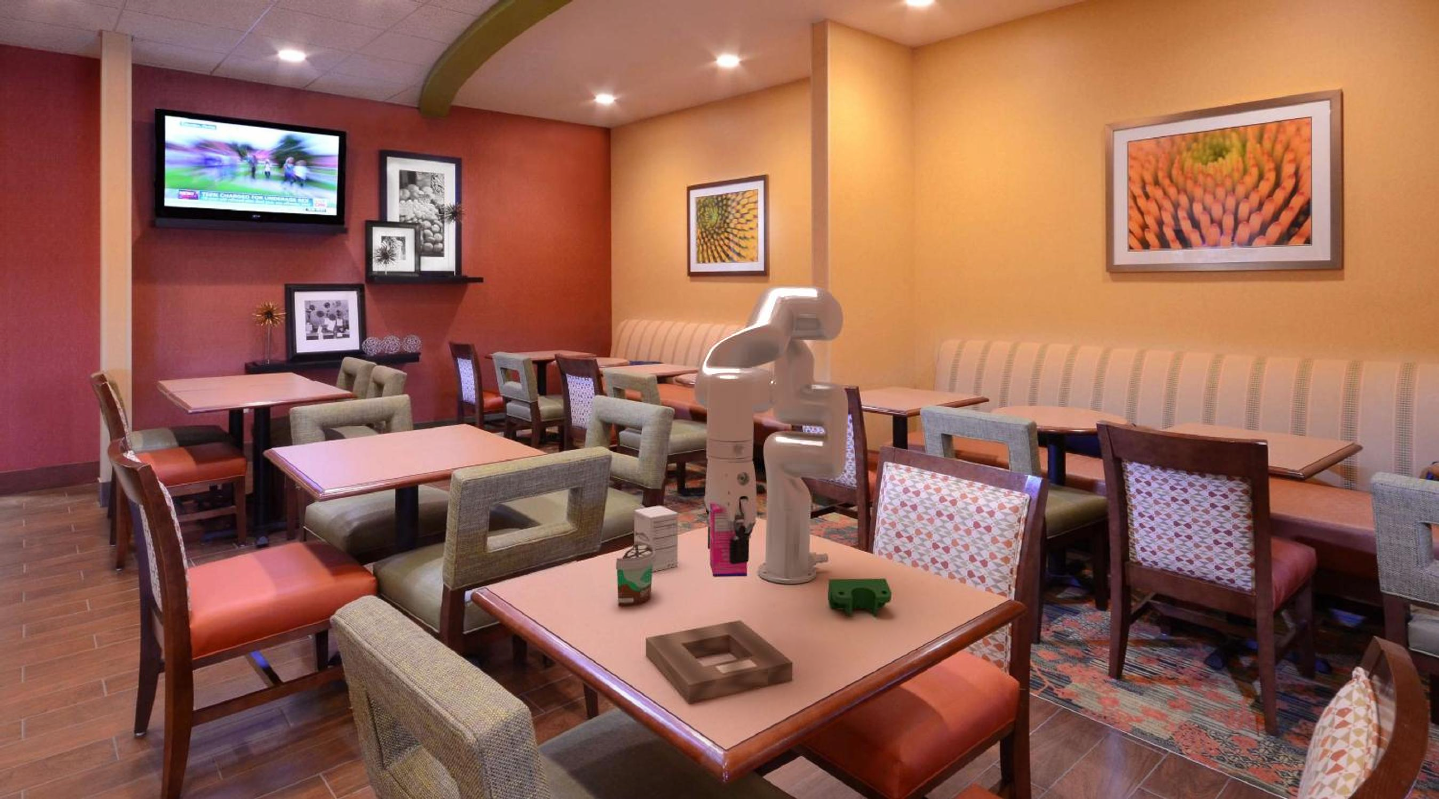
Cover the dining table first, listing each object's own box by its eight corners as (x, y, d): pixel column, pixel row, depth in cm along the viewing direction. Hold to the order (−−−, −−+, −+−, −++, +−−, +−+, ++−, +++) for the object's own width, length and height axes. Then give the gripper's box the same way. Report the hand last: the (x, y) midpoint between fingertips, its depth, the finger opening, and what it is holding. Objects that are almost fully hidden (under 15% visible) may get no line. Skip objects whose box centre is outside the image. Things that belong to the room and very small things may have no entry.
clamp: (841, 636, 156) (826, 601, 153) (835, 617, 162) (820, 582, 158) (900, 615, 155) (886, 578, 152) (892, 596, 161) (878, 561, 157)
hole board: (740, 636, 145) (740, 619, 145) (792, 679, 129) (792, 660, 129) (645, 654, 137) (645, 636, 137) (688, 703, 121) (689, 683, 121)
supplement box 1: (633, 563, 182) (633, 509, 181) (661, 557, 187) (661, 504, 185) (650, 573, 176) (650, 517, 175) (678, 566, 181) (679, 512, 179)
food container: (646, 611, 155) (646, 561, 154) (615, 608, 157) (615, 559, 155) (663, 588, 167) (663, 542, 166) (634, 586, 169) (634, 539, 167)
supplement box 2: (708, 565, 136) (709, 498, 134) (743, 565, 136) (744, 498, 135) (711, 577, 130) (712, 508, 129) (747, 577, 131) (749, 507, 129)
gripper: (777, 457, 125) (774, 568, 127) (726, 438, 140) (724, 538, 142) (734, 460, 121) (731, 575, 123) (686, 441, 137) (685, 543, 139)
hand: (727, 554), depth 133 cm, fingers closed on supplement box 2, 7 cm apart
